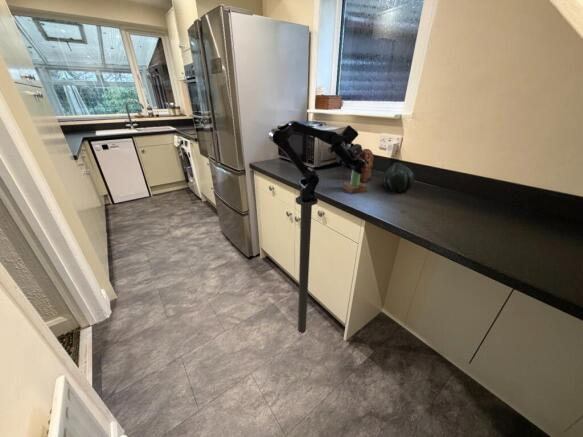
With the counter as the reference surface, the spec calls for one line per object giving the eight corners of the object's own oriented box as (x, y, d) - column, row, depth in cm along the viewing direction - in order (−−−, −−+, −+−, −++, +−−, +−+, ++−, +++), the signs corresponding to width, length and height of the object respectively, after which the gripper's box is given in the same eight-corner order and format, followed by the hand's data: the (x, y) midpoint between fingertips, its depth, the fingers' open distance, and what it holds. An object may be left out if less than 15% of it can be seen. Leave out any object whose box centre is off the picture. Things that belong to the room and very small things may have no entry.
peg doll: (356, 186, 120) (359, 164, 114) (348, 184, 123) (351, 162, 117) (360, 184, 122) (363, 162, 117) (353, 182, 125) (356, 161, 120)
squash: (424, 182, 119) (410, 156, 120) (407, 189, 111) (393, 161, 113) (401, 192, 131) (389, 169, 133) (385, 199, 124) (372, 174, 125)
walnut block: (351, 193, 119) (351, 188, 117) (342, 187, 126) (342, 182, 125) (366, 191, 121) (366, 186, 120) (356, 186, 129) (357, 180, 128)
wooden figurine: (360, 183, 133) (365, 151, 124) (351, 180, 137) (355, 149, 129) (372, 179, 139) (378, 148, 131) (364, 176, 144) (368, 146, 135)
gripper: (365, 142, 103) (381, 164, 111) (343, 135, 118) (359, 156, 127) (347, 161, 104) (365, 182, 112) (328, 152, 120) (345, 171, 128)
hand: (358, 172), depth 120 cm, fingers closed on peg doll, 4 cm apart
